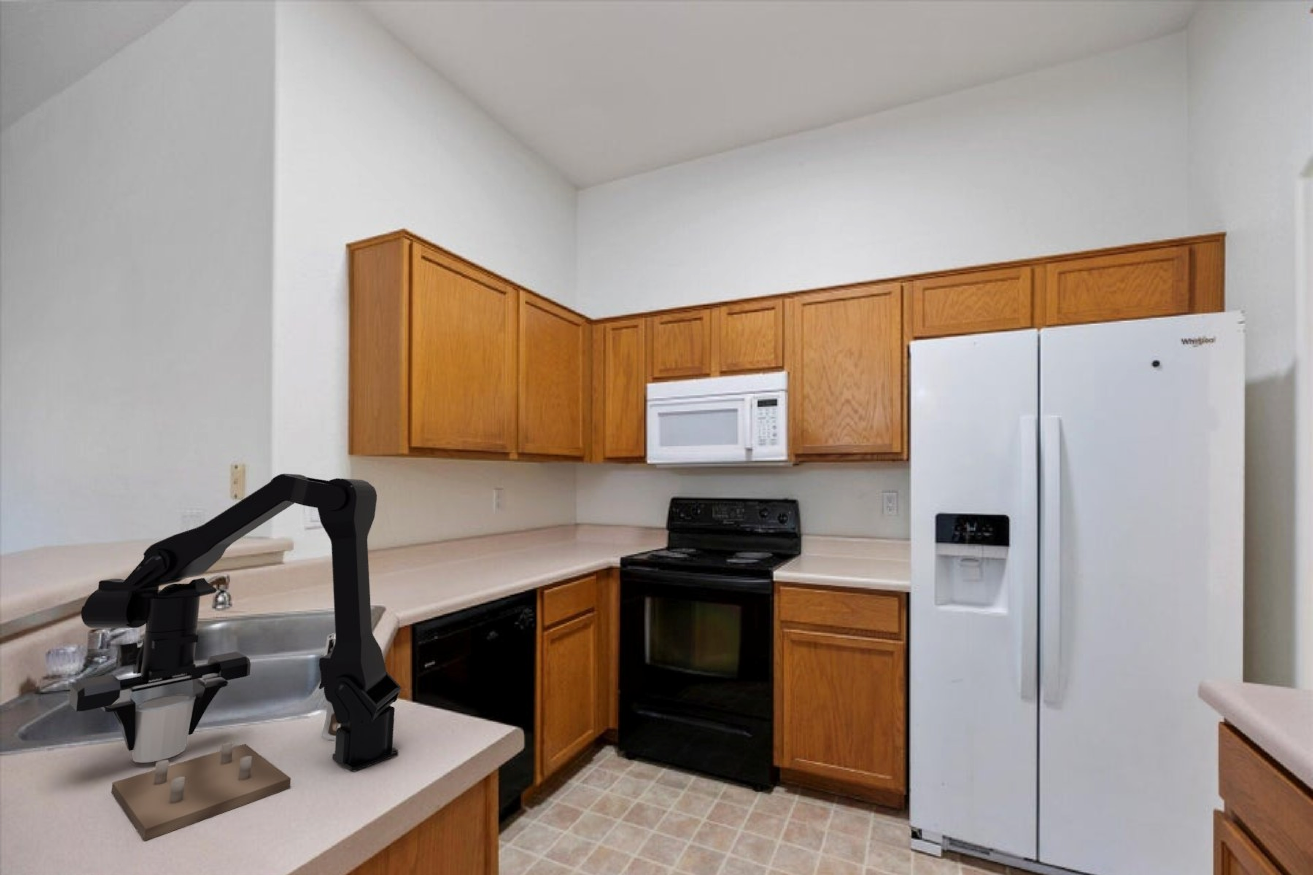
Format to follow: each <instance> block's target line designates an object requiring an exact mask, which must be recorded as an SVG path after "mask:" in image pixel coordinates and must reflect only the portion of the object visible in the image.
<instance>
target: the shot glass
mask: <svg viewBox="0 0 1313 875" xmlns="http://www.w3.org/2000/svg"><path fill="white" fill-rule="evenodd" d="M195 698H196V696H194V695H193V693H192V694H190V693H176V694H174V693H173V694H167V695H162V696H158V697H153V698H149V699H146V700H143V701H140V702H138V703H137V704H136V719H135V743H134V748H133V750H131V752H132V754H131V755H132V761H133V762H135V763H152V762H153V763H154V762H159V761H162V760H168V759H169V758H173V757H175V756H177V755H179V754H181V753H183V752H184V751H185V750H186V747H187V743H188V738H189V735H188V734H189V729H190V723H191V718H192V713H193V708H194V703H195Z"/></svg>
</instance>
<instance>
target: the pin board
mask: <svg viewBox="0 0 1313 875" xmlns="http://www.w3.org/2000/svg"><path fill="white" fill-rule="evenodd" d="M154 768H155V769H154V770H150V771H146V772H144V773H140V774H136V775H132V776H129V777H126V778H122V779H118V780H116V781H113V782H112V785H111V786H112V787H111V794H112V795H113V797H114V799H115V800H116V801H117V803H118V805H120V808H122V810H123V812H124V814H125V815H126V816H127V818H128V820H130V822H131V823H132V825H133V826H134V828H135V830H136V831H137V832H138V834H139V835H140V836H141V839H142V840H143V841H144V842H146V841H148V840H151V839H154V838H158V837H160V836H162V835H165V834H167V833H170V832H173V831H176V830H178V829H181V828H184V827H186V826H190V825H193V824H195V823H197V822H201V821H203V820H206V819H209V818H211V817H214V816H217V815H220V814H223V813H225V812H228V811H230V810H234V809H236V808H239V807H241V806H244V805H248V804H250V803H252V802H256V801H258V800H261V799H264V798H266V797H269V796H273V795H274V794H278V793H280V792H282V791H285V790H289V789H291V782H292V780H291V777H290V776H288V774H286V773H285V772H283V771H282V770H281V769H279V768H278V767H277V766H276V765H274V764H273V763H271V762H270V761H269V760H267V758H265V757H264V756H262V755H261V754H259V753H258V752H257V751H256V750H254V749H253V748H252V747H250V746H249V745H248V744H246V743H244V744H243V743H242V744H239V745H236V746H234V741H225V742H223V743H222V744H221V750H219V751H215V752H211V753H209V754H205V755H201V756H198V757H195V758H192V759H188V760H185V761H181V762H177V763H174V764H170V765H169V760H168V759H163V760H159V761H156V762H155V767H154Z"/></svg>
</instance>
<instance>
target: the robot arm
mask: <svg viewBox="0 0 1313 875" xmlns="http://www.w3.org/2000/svg"><path fill="white" fill-rule="evenodd" d="M377 498H378V495H377V490H376V488H375V487H374V486H373V485H372V484H371V483H370V482H369V481H366V480H364V479H357V478H356V479H355V478H354V479H353V478H333V479H330V480H328V479H327V480H325V479H320V478H314V477H307V476H306V475H303V474H297V473H280V474H277V475H276V476H274V477H273V478H272V479H271V480H270V481H269V482H268V483H267V484H265V485H263V486H262V487H259V488H258V489H257V490H256V491H253V492H252V493H250V494H249V495H247V496H246V497H245V498H242V499H241V500H240V501H238V502H237V503H235V504H234V505H232V506H231V507H229V508H227V509H225V510H224V511H222V512H221V513H220V514H218V515H216V516H214V517H213V518H212V519H210V520H208V521H207V522H205V523H204V524H202V525H199V526H196V527H194V528H192V529H191V528H190V529H189V530H188V529H187V530H185V531H182V532H178V533H176V534H174V535H173V534H172V535H171V536H168V537H166V538H164V539H162V540H159V541H157V542H155V543H152V544H151V545H149V546H148V547H147V548H146V549H145V551H144V552H143V559H142V560H141V561H140V562H139V564H138V565H136V567H135V568H134V569H133V570H132V571H131V572H130V574H129V575H128V576H126V578H125V579H123V578H109V579H108V578H107V579H102V580H100V581H98V588H97V589H96V590H94V591H93V592H92V593H91V594H90V595H89V596H88V598H87V599H86V600H85V602H84V605H82V607H81V611H80V613H81V616H80V618H81V620H82V622H83V624H84V626H86V627H87V628H91V629H137V628H138V629H139V628H141V627H143V626H145V631H144V634H143V639H142V644H141V646H139V647H138V643H137V642H131V643H124V644H120V645H118V646H117V650H116V651H117V652H116V658H115V660H116V661H115V667H116V670H121V669H126V668H132V674H133V675H135V674H136V675H139V676H135V677H129V678H124V679H123V678H122V679H118V678H117V677H116V676H115V675H114V674H113V673H111V674H107V675H100V676H94V677H89V678H83V679H80V680H79V679H78V680H76V682H74V683H73V684H72V685H71V687H70V690H69V692H70V693H69V698H68V700H69V701H68V703H69V704H70V705H71V707H72V708H73V710H74V711H75V712H85V711H90V710H91V711H92V710H96V709H99V708H100V709H101V710H102V711H103V712H104V713H111V712H113V715H114V716H115V718H116V720H117V723H118V725H119V728H120V731H121V734H122V737H123V740H124V742H125V745H126V749H127V750H128V751H129V752H132V750H133V748H134V743H135V719H136V702H135V701H134V700H133V698H132V694H133V693H134V692H138V691H144V690H149V689H155V688H160V687H163V686H168V685H172V684H173V685H174V684H178V683H179V684H180V683H183V682H188V681H191V683H192V695H194V696H196V698H195V703H194V708H193V713H192V718H191V723H190V729H189V734H188V736H191V735H193V734H194V732H195V730H196V728H197V727H198V725H199V723H200V721H201V719H202V718H203V716H204V714H205V712H206V710H207V709H208V707H209V705H210V704H211V702H212V701H213V700H214V698H215V696H216V695H217V694H218V692H219V691H220V690H221V689H222V688H225V687H227V686H229V685H228V684H229V682H228V681H231V680H236V679H240V678H245V677H248V676H250V675H251V665H252V664H251V659H250V658H249V657H248V656H247V655H243V654H242V653H240V652H238V651H233V652H227V653H222V654H217V655H215V654H214V655H210V656H209V658H208V660H207V663H203V664H197V665H196V663H195V657H196V656H195V655H196V647H197V646H196V645H197V643H198V641H199V634H197V632H198V623H199V622H198V621H199V611H200V610H199V609H200V601H201V597H204V596H208V595H212V594H215V593H217V592H218V591H217V588H216V587H215V586H213V585H212V584H211V583H209V582H208V581H207V579H206V578H205V577H201V578H196V579H191V581H190V582H189V583H180V582H181V581H182V580H185V579H187V578H188V579H189V578H193V577H198V576H201V575H203V574H204V573H206V572H207V571H208V570H209V569H210V568H212V566H213V565H215V564H216V563H217V562H218V561H220V560H221V559H222V557H223V556H224V553H226V550H227V549H228V548H229V547H230V546H231V545H232V544H234V543H235V542H237V541H238V540H240V539H241V538H243V537H245V536H246V535H247V534H249V533H251V532H252V531H254V530H255V529H257V528H258V527H260V526H262V525H263V524H265V523H267V522H268V521H269V520H271V519H272V518H274V517H275V516H277V515H278V514H280V513H281V512H283V511H285V510H286V509H288V508H290V507H291V506H292V505H294V504H297V505H300V506H304V507H309V508H314V509H315V508H317V512H318V517H319V521H320V522H319V523H320V524H321V525H322V528H323V529H324V532H325V533H326V534H327V537H328V538H329V539H330V544H331V564H332V565H331V566H332V589H333V609H334V611H333V613H334V633H335V638H336V639H335V645H334V647H333V650H332V652H331V653H329V654H327V655H325V656H324V655H323V656H322V657H320V658H319V662H318V664H319V665H318V666H319V672H320V683H319V684H318V685H319V686H318V689H319V690H322V689H323V695H324V697H325V701H326V700H327V701H328V702H330V703H331V704H332V707H333V710H334V714H335V717H336V721H337V723H340V727H339V728H337V730H336V740H335V746H334V748H335V749H334V753H333V754H332V760H334V761H336V763H337V762H338V763H339V764H341V765H342V766H344V767H346V768H347V769H349V771H351V772H352V771H353V772H354V771H358V770H361V769H364V768H366V767H368V766H371V765H373V764H376V763H379V762H382V761H384V760H388V759H390V758H392V757H395V756H398V755H399V750H398V749H396V748H395V747H394V746H393V742H394V729H395V728H394V727H395V726H394V725H395V710H396V708H395V707H394V706H392V704H394V703H395V702H396V701H398V698H399V695H400V693H401V691H402V686H400V684H399V683H398V682H397V681H396V680H395V679H394V678H393V677H392V676H391V675H390V673H388V671H387V668H386V662H385V660H384V656H383V655H384V654H383V651H382V648H381V646H380V644H379V643H378V641H377V639H376V638H375V636H374V632H373V633H372V631H373V630H372V629H373V627H372V613H371V612H372V606H371V590H370V589H371V588H370V570H369V569H370V568H369V547H368V546H369V545H368V537H369V534H370V531H371V529H372V525H373V522H374V520H375V516H376V509H377V501H378V500H377ZM165 585H166V586H165ZM160 586H165V587H163V588H162V589H160V588H159V587H160Z"/></svg>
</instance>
